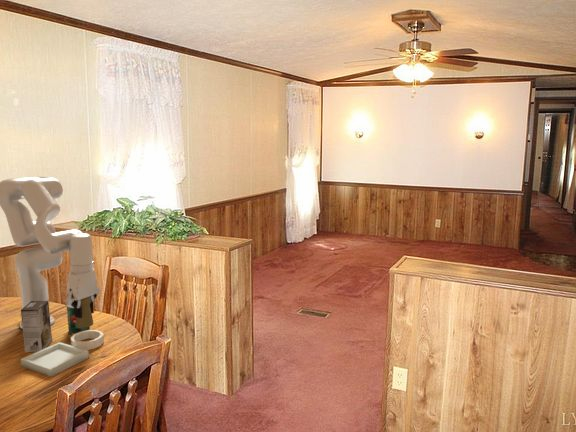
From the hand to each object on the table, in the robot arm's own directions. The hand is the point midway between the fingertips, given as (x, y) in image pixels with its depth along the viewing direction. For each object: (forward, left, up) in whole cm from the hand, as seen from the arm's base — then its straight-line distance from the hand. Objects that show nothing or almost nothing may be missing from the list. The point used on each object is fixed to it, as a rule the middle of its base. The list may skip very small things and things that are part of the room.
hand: (84, 314), depth 178 cm
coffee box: (-13, -10, -12) cm, 20 cm away
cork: (0, 0, -4) cm, 4 cm away
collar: (+1, 0, -11) cm, 11 cm away
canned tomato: (-12, +7, -12) cm, 18 cm away
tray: (+3, -15, -11) cm, 19 cm away
